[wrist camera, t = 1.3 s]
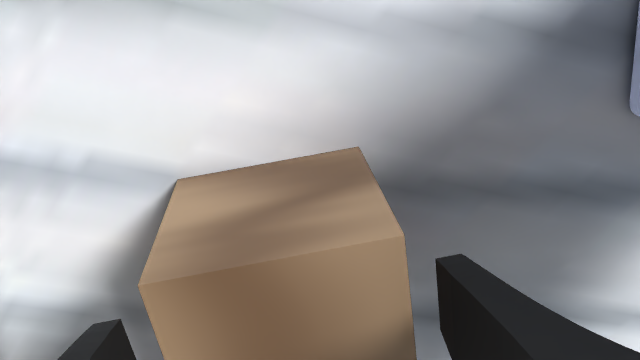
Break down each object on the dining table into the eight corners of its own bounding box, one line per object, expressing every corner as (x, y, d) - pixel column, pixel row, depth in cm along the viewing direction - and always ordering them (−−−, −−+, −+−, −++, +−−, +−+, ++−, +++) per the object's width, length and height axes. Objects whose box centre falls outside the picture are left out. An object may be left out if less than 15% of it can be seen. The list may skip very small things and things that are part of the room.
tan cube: (358, 145, 14) (404, 235, 10) (377, 292, 16) (423, 424, 12) (178, 178, 14) (137, 285, 9) (220, 322, 16) (203, 469, 11)
